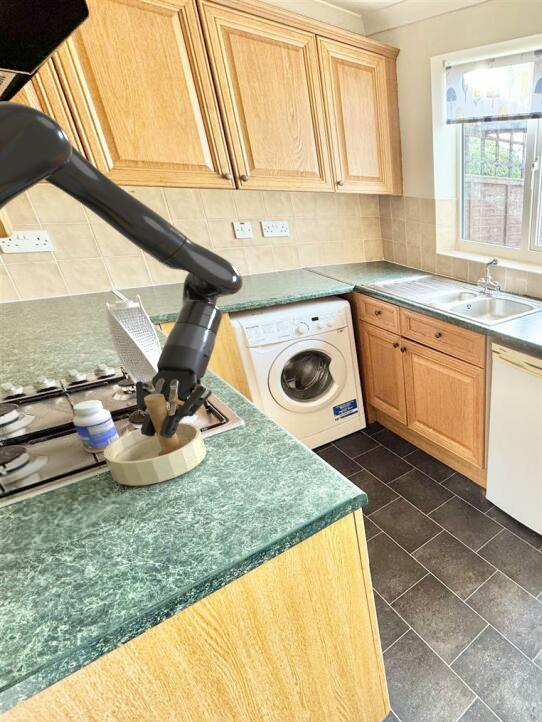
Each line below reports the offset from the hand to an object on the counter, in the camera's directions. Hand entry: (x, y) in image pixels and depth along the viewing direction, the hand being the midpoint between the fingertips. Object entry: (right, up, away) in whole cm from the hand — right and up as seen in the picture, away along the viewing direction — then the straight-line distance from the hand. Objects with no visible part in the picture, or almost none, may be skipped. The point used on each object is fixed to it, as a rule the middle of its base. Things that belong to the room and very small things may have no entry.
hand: (156, 435), depth 77 cm
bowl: (-3, -6, +5) cm, 8 cm away
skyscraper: (-18, +3, +23) cm, 29 cm away
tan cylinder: (0, -4, +4) cm, 6 cm away
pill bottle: (-18, -3, +9) cm, 21 cm away
